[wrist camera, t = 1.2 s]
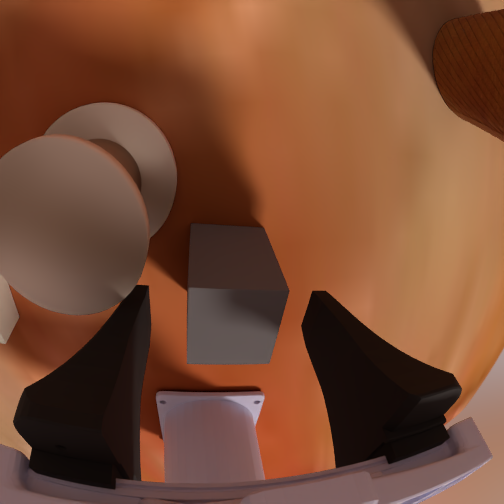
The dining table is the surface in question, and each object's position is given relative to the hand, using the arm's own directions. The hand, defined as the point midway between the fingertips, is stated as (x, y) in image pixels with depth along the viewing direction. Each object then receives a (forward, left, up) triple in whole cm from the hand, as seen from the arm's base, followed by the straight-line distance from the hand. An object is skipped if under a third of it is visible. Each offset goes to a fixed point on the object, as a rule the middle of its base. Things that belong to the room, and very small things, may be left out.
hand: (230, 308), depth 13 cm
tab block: (0, 0, -4) cm, 4 cm away
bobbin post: (+4, +6, -4) cm, 8 cm away
